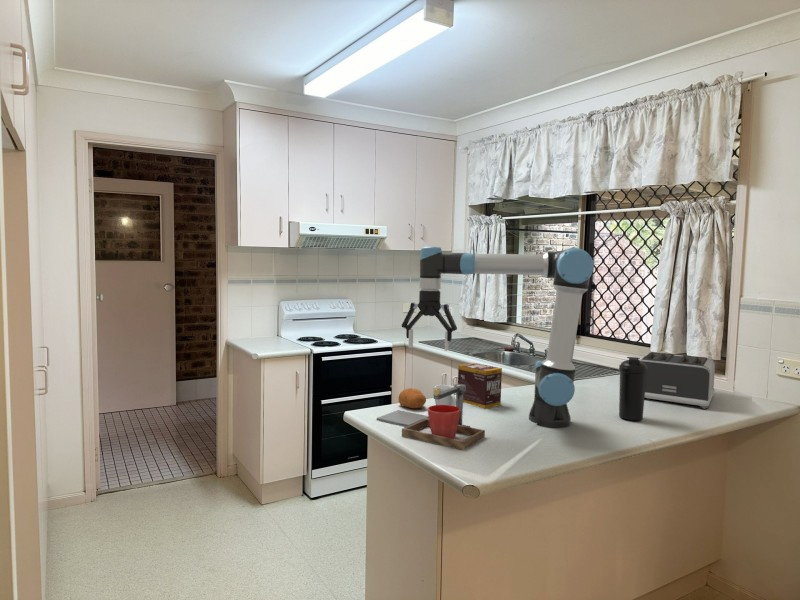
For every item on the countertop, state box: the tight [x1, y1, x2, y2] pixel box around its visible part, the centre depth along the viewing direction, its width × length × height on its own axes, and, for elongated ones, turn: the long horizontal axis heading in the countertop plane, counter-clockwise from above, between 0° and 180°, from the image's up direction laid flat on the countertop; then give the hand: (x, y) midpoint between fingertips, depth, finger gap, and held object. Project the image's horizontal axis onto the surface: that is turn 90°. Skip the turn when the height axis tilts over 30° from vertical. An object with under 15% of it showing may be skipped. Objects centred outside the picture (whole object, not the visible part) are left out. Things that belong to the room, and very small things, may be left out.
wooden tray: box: [401, 418, 486, 451], centre depth 187 cm, size 23×16×2 cm
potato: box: [398, 387, 427, 410], centre depth 222 cm, size 9×11×8 cm
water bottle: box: [618, 356, 648, 421], centre depth 216 cm, size 10×10×23 cm
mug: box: [434, 384, 456, 406], centre depth 219 cm, size 11×8×9 cm
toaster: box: [638, 351, 716, 409], centre depth 253 cm, size 31×36×18 cm
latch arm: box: [432, 383, 466, 400], centre depth 189 cm, size 4×19×4 cm, turn 146°
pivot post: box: [455, 392, 471, 427], centre depth 196 cm, size 6×6×13 cm
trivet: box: [376, 409, 429, 427], centre depth 206 cm, size 14×14×1 cm
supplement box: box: [457, 362, 503, 410], centre depth 232 cm, size 10×15×16 cm
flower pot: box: [427, 404, 460, 439], centre depth 187 cm, size 11×11×10 cm
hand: (428, 348), depth 202 cm, fingers open, 13 cm apart
